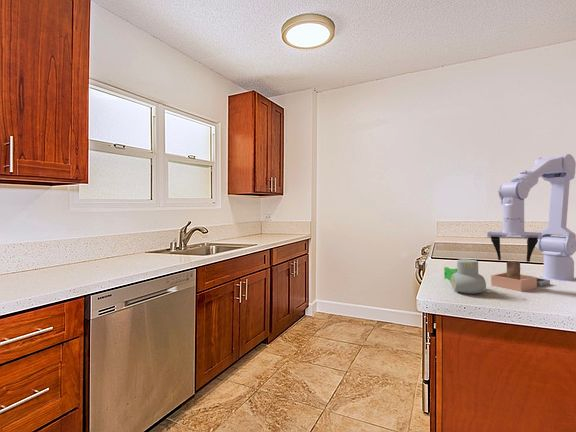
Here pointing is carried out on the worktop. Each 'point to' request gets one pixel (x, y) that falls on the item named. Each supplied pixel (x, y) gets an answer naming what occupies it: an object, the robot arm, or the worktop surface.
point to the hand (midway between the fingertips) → (513, 260)
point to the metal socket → (542, 282)
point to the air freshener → (468, 277)
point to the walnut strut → (513, 270)
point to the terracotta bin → (514, 282)
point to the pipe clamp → (449, 273)
